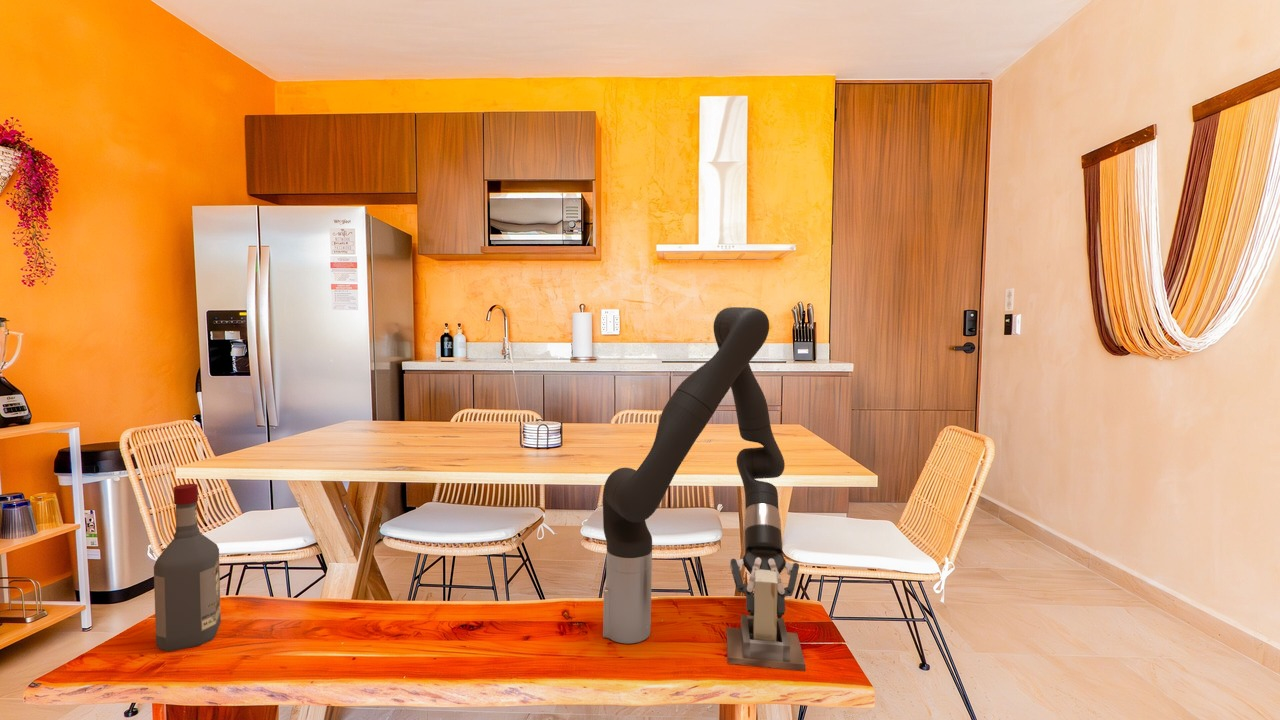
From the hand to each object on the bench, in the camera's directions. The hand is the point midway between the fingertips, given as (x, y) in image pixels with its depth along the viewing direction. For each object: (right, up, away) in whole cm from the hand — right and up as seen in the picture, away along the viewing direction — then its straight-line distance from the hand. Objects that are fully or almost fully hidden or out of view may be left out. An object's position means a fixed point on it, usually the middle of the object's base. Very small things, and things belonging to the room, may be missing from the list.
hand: (766, 615), depth 110 cm
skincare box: (0, -5, +2) cm, 6 cm away
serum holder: (0, -8, +2) cm, 8 cm away
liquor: (-112, -6, +3) cm, 112 cm away
